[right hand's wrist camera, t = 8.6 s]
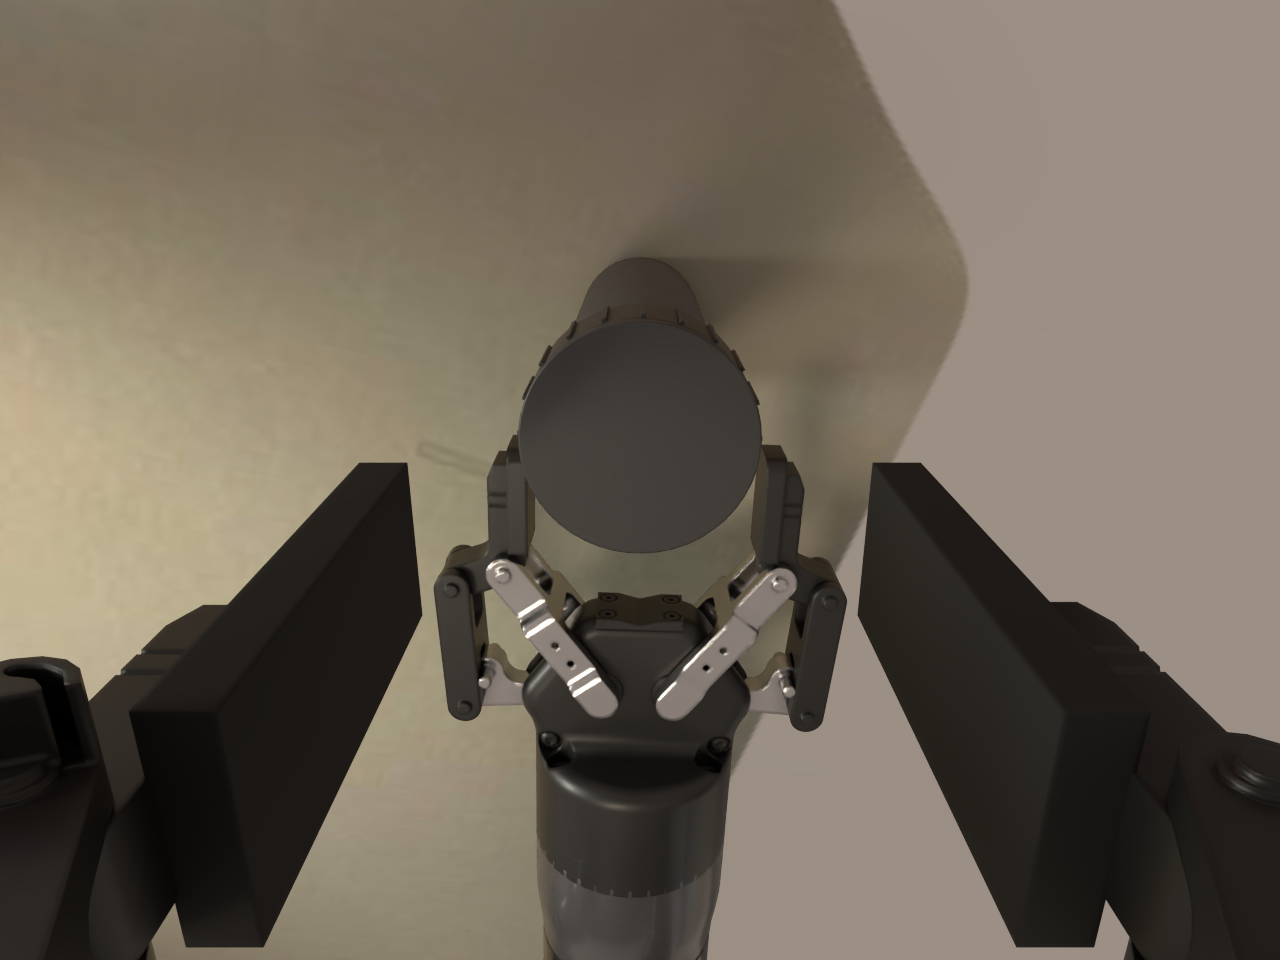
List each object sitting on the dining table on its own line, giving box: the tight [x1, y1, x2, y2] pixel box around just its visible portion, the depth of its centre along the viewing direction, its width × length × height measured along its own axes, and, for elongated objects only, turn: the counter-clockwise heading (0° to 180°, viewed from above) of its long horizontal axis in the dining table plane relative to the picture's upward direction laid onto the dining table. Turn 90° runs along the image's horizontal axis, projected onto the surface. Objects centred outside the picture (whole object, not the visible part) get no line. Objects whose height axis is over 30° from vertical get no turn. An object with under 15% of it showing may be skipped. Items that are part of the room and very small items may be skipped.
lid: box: [517, 301, 762, 553], centre depth 20 cm, size 5×5×2 cm
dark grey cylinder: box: [576, 258, 706, 325], centre depth 27 cm, size 4×4×16 cm
